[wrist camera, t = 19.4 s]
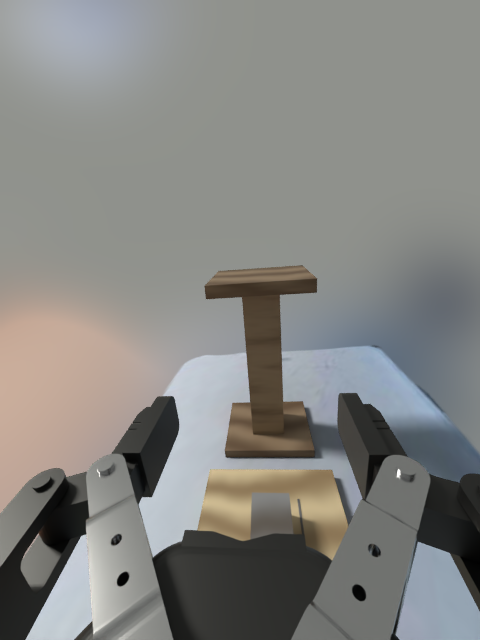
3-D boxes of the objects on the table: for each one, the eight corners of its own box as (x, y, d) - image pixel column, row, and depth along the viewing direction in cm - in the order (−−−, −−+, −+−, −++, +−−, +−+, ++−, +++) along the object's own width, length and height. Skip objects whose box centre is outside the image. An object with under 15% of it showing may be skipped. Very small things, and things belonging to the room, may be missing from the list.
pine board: (211, 476, 45) (210, 468, 45) (331, 476, 43) (331, 469, 43) (111, 974, 15) (104, 969, 14) (494, 1049, 13) (502, 1047, 13)
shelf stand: (233, 408, 62) (218, 271, 52) (302, 407, 60) (302, 265, 50) (225, 457, 49) (204, 285, 38) (314, 456, 47) (316, 278, 37)
